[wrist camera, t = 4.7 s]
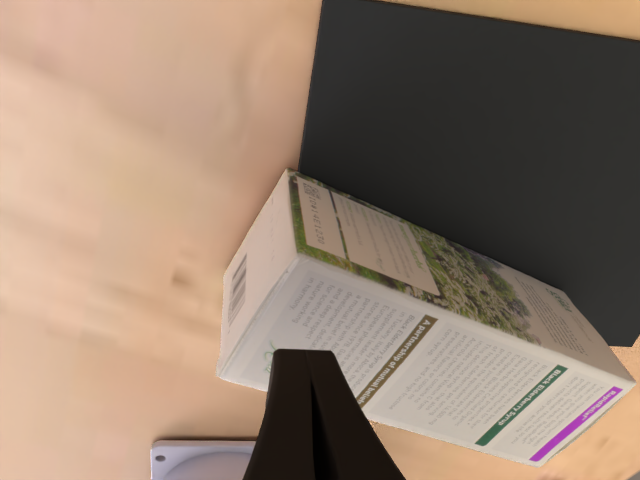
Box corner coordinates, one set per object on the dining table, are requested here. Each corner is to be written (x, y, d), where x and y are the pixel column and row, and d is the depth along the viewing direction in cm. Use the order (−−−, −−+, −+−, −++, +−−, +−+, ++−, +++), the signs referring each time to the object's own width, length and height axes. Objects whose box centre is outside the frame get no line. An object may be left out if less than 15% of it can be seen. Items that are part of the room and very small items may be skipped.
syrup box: (211, 384, 17) (538, 477, 22) (300, 245, 14) (646, 387, 20) (220, 275, 22) (487, 373, 27) (287, 156, 19) (570, 289, 24)
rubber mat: (627, 341, 27) (632, 347, 27) (275, 325, 24) (275, 332, 24) (803, 65, 20) (813, 68, 19) (323, -8, 17) (324, -6, 16)
